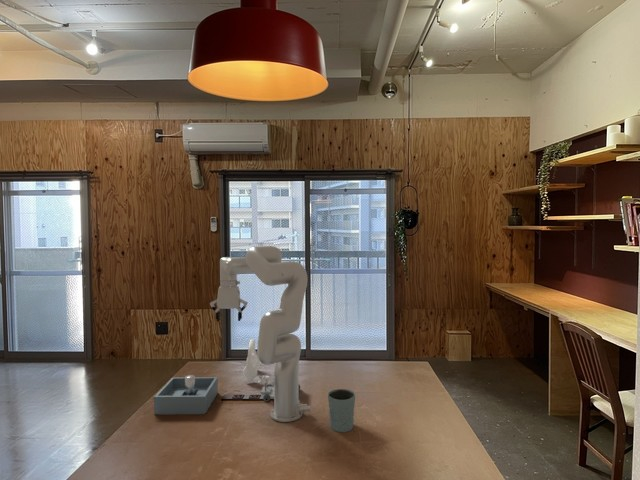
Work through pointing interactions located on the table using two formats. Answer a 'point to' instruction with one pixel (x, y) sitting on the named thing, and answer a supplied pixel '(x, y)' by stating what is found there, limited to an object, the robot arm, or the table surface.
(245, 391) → the table surface
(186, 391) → the peg
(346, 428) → the teal cup
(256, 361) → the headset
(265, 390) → the toy car
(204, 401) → the open box
